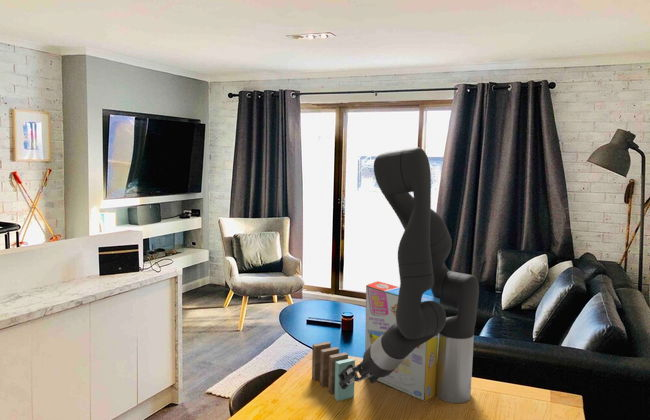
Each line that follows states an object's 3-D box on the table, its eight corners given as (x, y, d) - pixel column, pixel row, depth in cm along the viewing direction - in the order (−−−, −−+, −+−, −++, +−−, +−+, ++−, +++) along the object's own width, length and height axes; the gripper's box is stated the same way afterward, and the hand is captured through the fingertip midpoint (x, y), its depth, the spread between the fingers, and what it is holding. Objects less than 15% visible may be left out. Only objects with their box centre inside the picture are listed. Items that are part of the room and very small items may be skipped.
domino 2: (338, 383, 145) (339, 348, 144) (322, 387, 142) (323, 351, 141) (335, 380, 146) (336, 346, 145) (319, 384, 144) (320, 349, 143)
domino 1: (330, 377, 149) (330, 343, 148) (314, 380, 146) (315, 346, 145) (327, 374, 150) (327, 341, 149) (311, 378, 148) (312, 344, 147)
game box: (436, 395, 139) (441, 298, 134) (425, 403, 135) (430, 304, 130) (375, 368, 153) (377, 280, 148) (363, 375, 150) (365, 284, 144)
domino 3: (347, 389, 141) (348, 354, 140) (331, 393, 139) (332, 357, 137) (344, 387, 143) (344, 352, 141) (328, 391, 140) (329, 355, 139)
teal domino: (353, 396, 137) (355, 360, 136) (337, 401, 135) (338, 363, 134) (350, 394, 139) (351, 358, 138) (334, 398, 136) (335, 361, 135)
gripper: (403, 335, 126) (373, 364, 137) (353, 343, 119) (326, 373, 130) (416, 364, 122) (384, 391, 133) (366, 374, 115) (337, 402, 126)
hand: (356, 382), depth 132 cm, fingers open, 8 cm apart
